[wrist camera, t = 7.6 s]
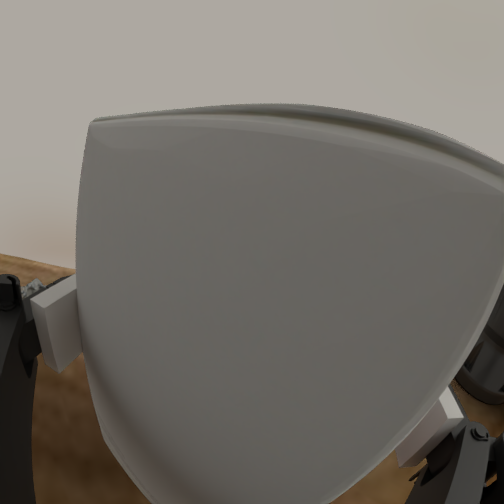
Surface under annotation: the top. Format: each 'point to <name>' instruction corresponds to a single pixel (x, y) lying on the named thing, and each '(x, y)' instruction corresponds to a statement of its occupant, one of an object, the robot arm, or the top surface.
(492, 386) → the robot arm
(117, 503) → the top surface
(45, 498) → the top surface
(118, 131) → the supplement box
